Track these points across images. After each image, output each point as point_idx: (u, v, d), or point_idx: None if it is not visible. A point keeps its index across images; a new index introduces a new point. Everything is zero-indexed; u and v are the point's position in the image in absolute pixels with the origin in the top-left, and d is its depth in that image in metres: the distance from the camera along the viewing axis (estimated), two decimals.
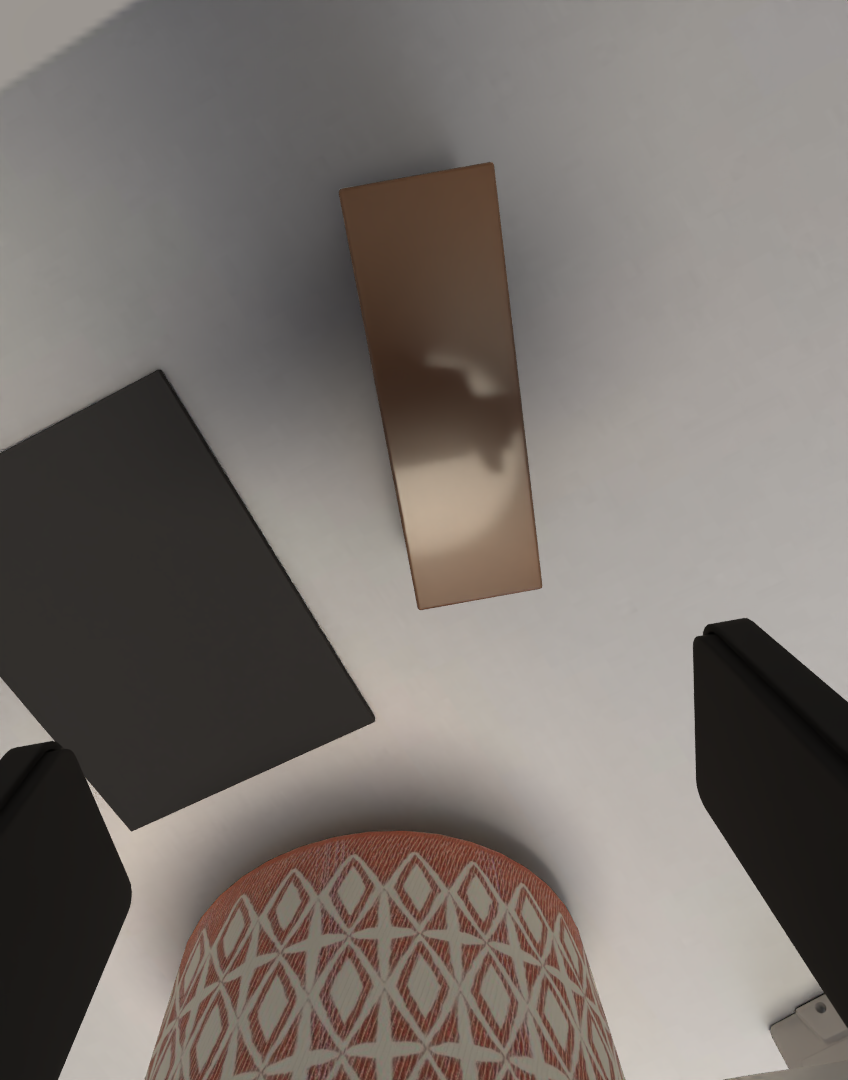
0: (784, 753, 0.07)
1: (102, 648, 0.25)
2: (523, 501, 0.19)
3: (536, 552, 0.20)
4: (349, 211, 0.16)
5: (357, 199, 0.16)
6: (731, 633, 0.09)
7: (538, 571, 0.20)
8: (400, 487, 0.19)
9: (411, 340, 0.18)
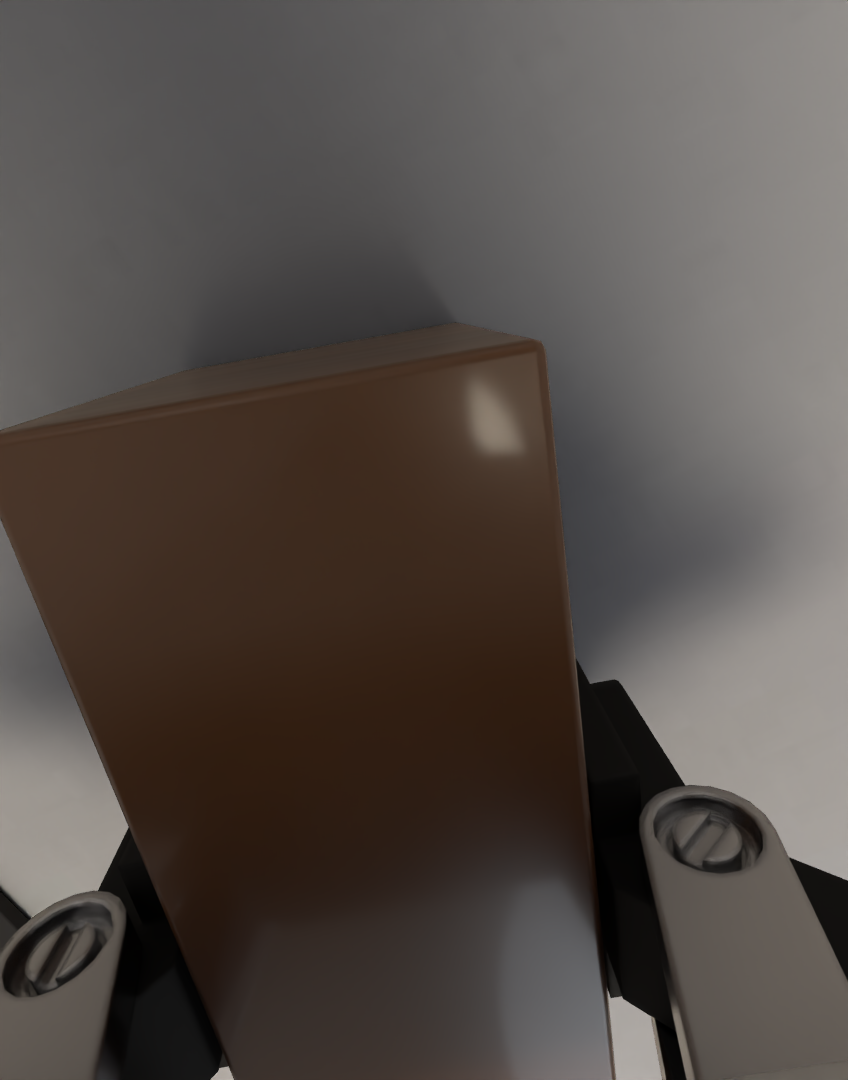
0: None
1: None
2: None
3: None
4: (21, 511, 0.05)
5: (43, 474, 0.04)
6: None
7: None
8: None
9: (277, 852, 0.06)
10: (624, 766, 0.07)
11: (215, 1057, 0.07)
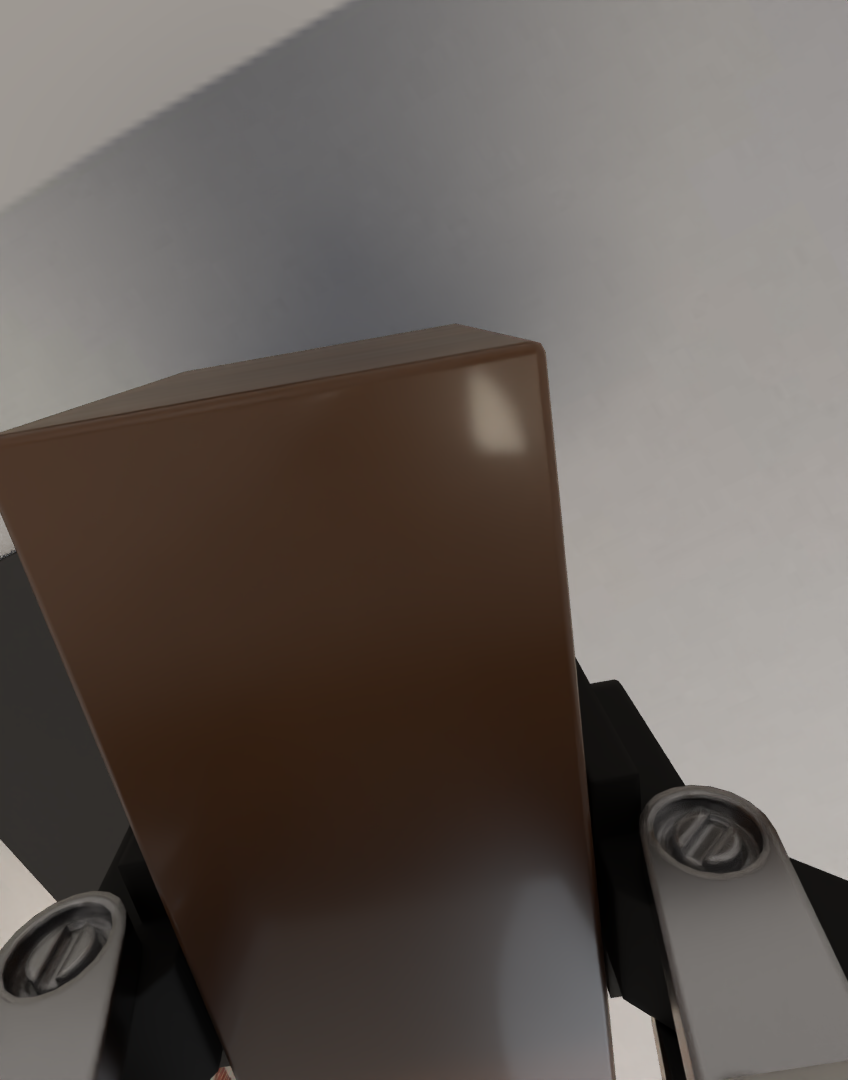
0: None
1: (62, 766, 0.25)
2: None
3: None
4: (23, 514, 0.05)
5: (45, 475, 0.04)
6: None
7: None
8: None
9: (278, 852, 0.06)
10: (624, 766, 0.07)
11: (215, 1057, 0.07)
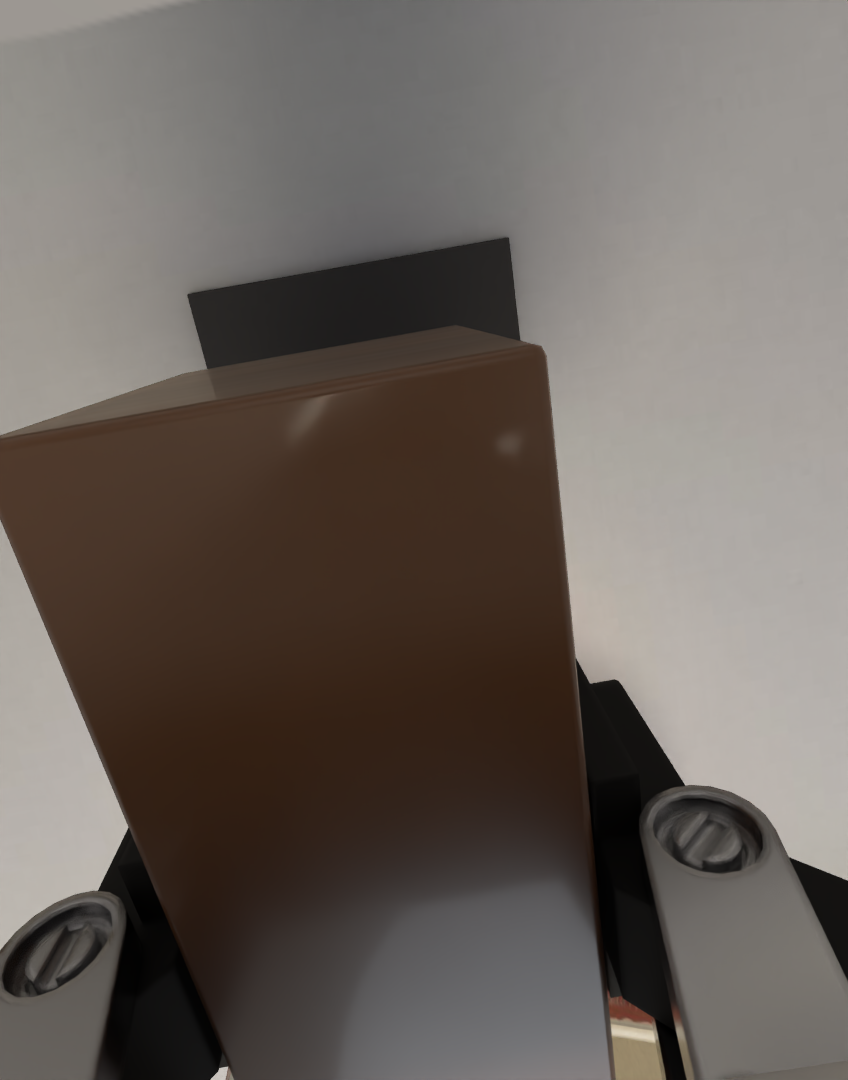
0: None
1: None
2: None
3: None
4: (22, 517, 0.05)
5: (45, 479, 0.04)
6: None
7: None
8: None
9: (278, 854, 0.06)
10: (624, 766, 0.07)
11: (215, 1057, 0.07)
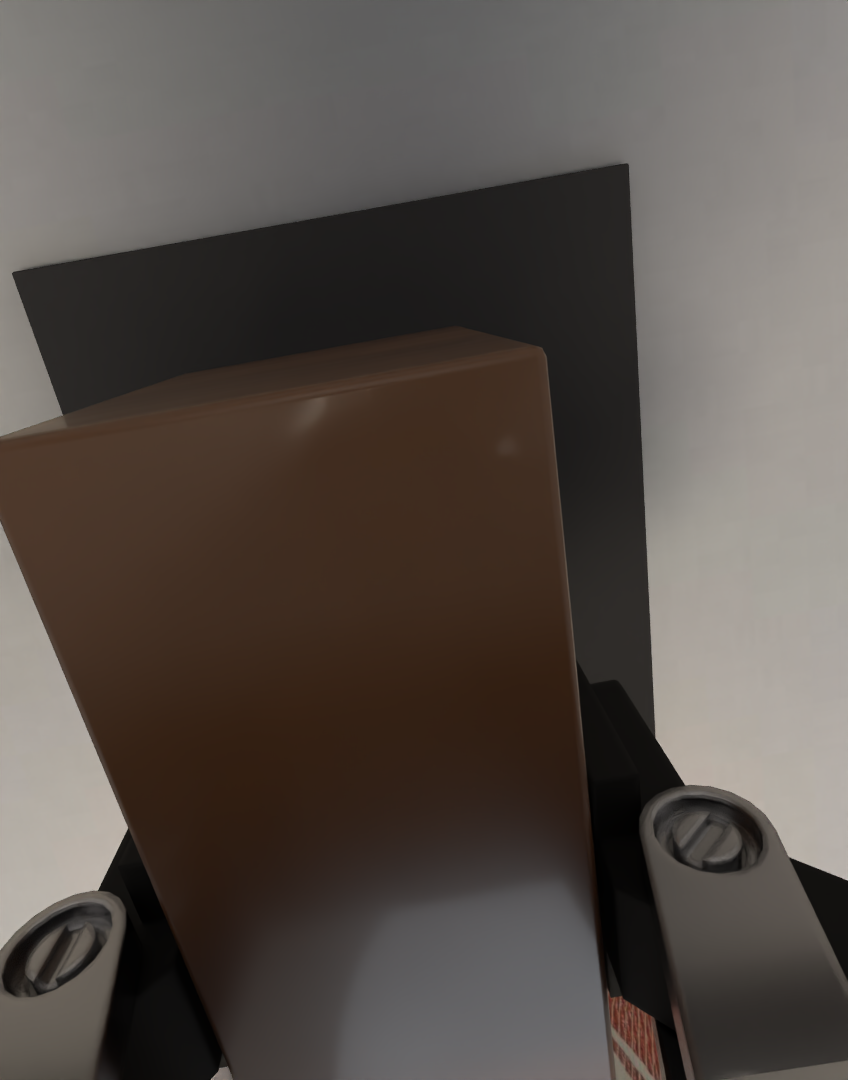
0: None
1: None
2: None
3: None
4: (21, 518, 0.05)
5: (44, 480, 0.04)
6: None
7: None
8: None
9: (278, 856, 0.06)
10: (624, 766, 0.07)
11: (215, 1057, 0.07)
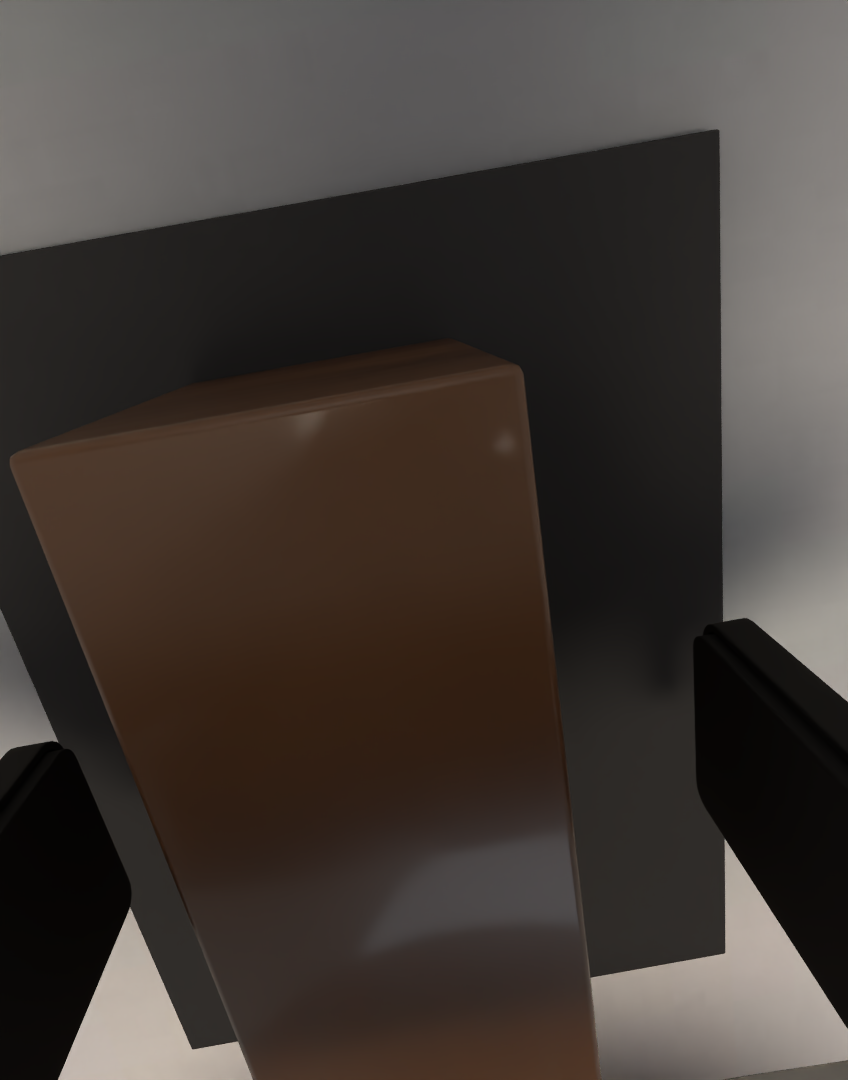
0: (785, 753, 0.07)
1: None
2: None
3: None
4: (50, 520, 0.05)
5: (72, 485, 0.05)
6: (731, 633, 0.09)
7: None
8: None
9: (282, 830, 0.06)
10: None
11: None
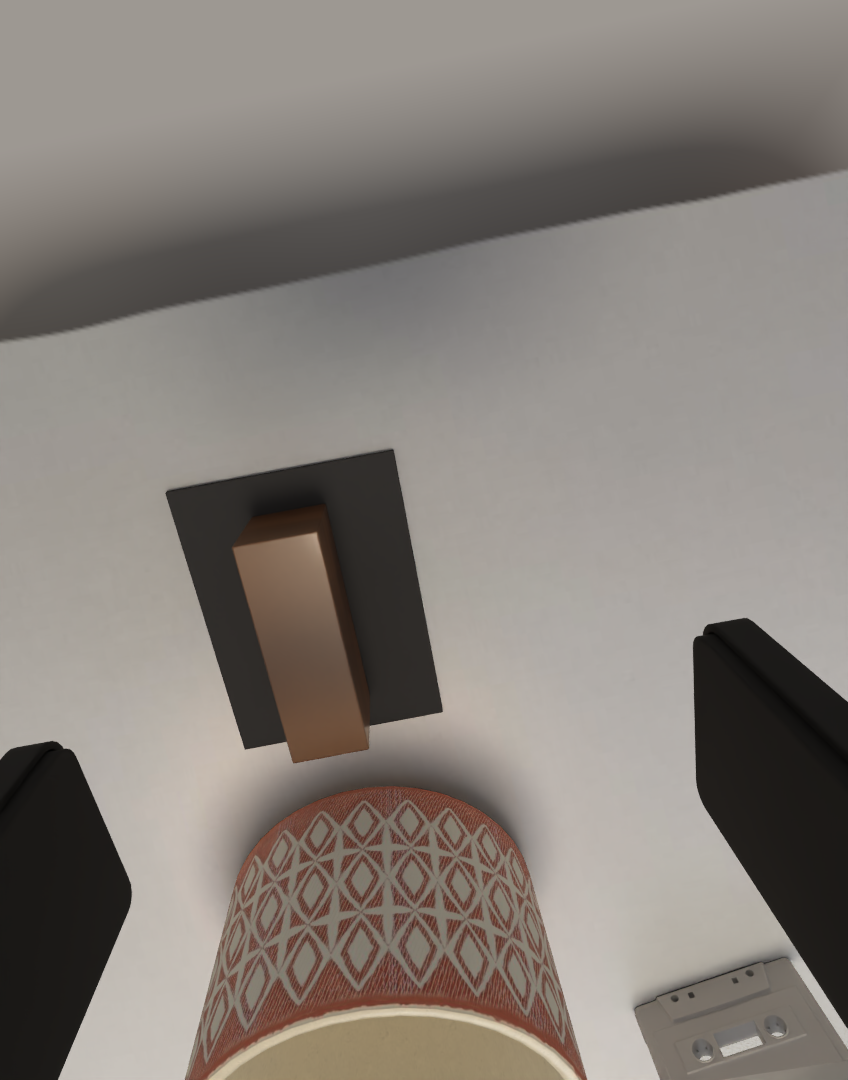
0: (784, 753, 0.07)
1: None
2: (352, 701, 0.32)
3: (362, 729, 0.33)
4: (238, 557, 0.30)
5: (242, 551, 0.29)
6: (731, 633, 0.09)
7: (365, 739, 0.33)
8: (277, 696, 0.32)
9: (277, 619, 0.31)
10: None
11: None
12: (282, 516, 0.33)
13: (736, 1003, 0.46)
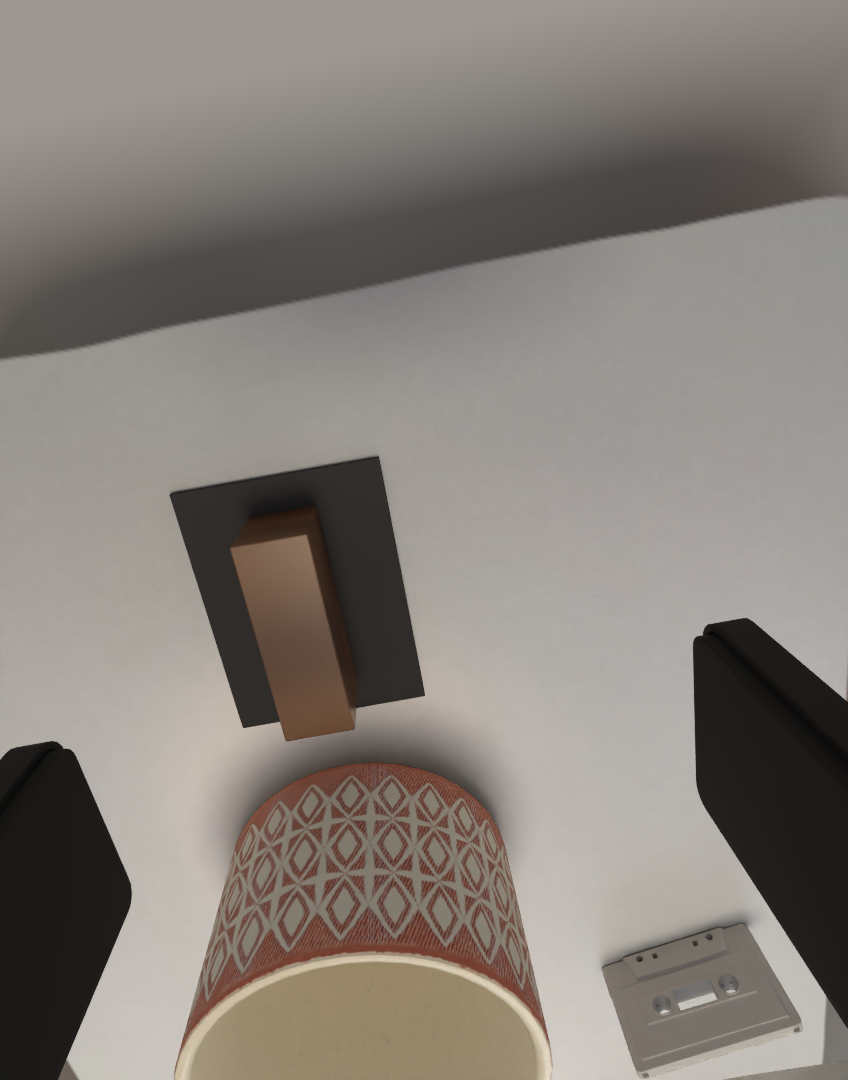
0: (784, 753, 0.07)
1: None
2: (339, 686, 0.36)
3: (349, 711, 0.36)
4: (235, 557, 0.33)
5: (239, 551, 0.33)
6: (731, 633, 0.09)
7: (351, 721, 0.36)
8: (271, 681, 0.35)
9: (271, 612, 0.34)
10: None
11: None
12: (276, 517, 0.36)
13: (695, 963, 0.50)
